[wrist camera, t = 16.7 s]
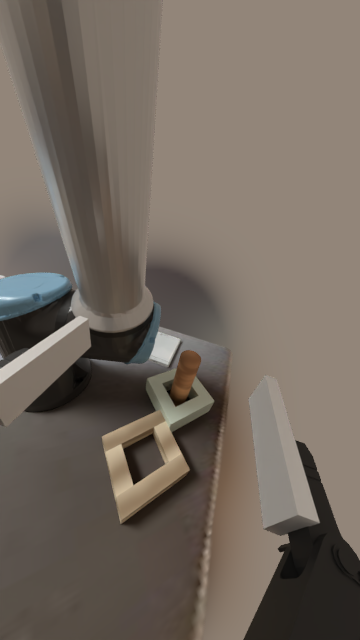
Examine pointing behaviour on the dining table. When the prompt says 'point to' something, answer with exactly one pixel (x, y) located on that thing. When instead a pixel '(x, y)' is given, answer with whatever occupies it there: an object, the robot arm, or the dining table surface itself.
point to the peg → (184, 376)
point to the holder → (157, 482)
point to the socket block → (182, 413)
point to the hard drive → (164, 349)
